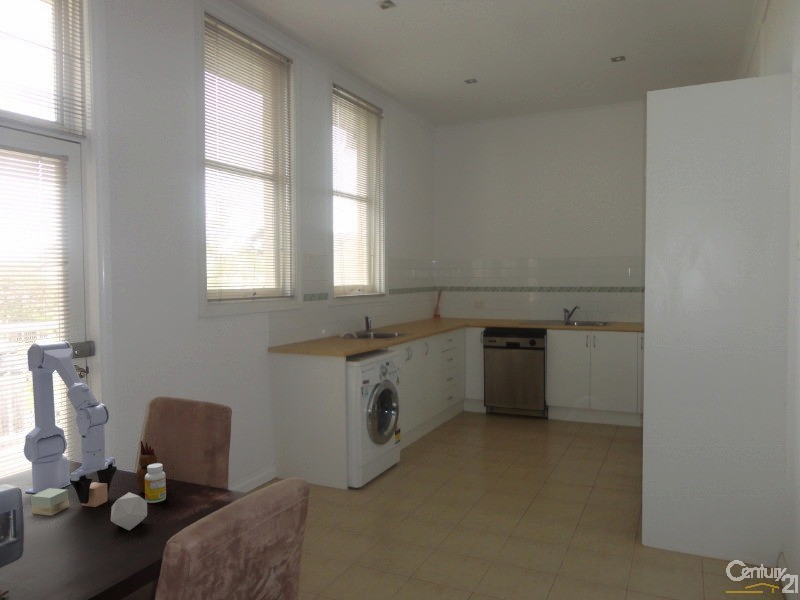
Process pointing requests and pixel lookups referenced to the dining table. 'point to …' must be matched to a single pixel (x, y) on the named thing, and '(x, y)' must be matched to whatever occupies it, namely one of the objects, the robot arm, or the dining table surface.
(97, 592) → the dining table surface
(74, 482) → the robot arm
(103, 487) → the terracotta block
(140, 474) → the wooden figurine
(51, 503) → the tower top block
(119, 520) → the die
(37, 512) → the tower base block
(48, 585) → the dining table surface
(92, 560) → the dining table surface
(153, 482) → the supplement bottle
